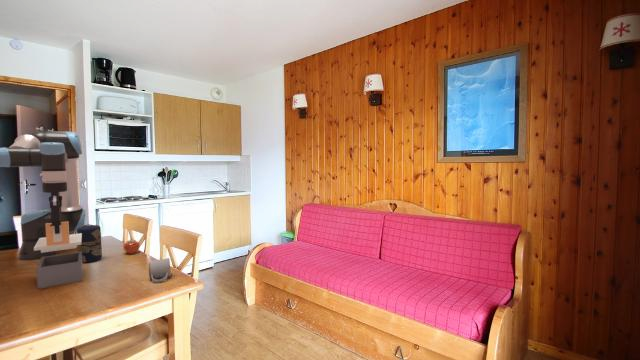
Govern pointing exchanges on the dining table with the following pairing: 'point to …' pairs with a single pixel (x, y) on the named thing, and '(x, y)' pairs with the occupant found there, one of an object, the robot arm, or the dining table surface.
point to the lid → (66, 243)
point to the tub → (59, 269)
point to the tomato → (131, 246)
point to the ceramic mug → (159, 270)
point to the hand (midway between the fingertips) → (58, 240)
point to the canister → (90, 243)
